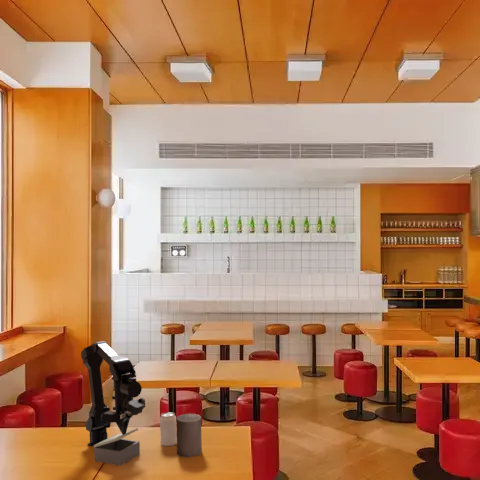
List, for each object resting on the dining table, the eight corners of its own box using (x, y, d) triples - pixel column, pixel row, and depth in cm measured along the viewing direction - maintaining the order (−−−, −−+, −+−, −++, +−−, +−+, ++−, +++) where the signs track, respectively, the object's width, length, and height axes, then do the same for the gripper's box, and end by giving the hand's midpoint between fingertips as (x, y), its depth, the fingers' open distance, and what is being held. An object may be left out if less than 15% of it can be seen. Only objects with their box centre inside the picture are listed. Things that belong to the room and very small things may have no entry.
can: (174, 447, 229) (173, 417, 229) (158, 446, 230) (157, 416, 230) (178, 441, 235) (178, 412, 235) (163, 440, 236) (163, 411, 236)
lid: (94, 447, 216) (93, 445, 216) (114, 437, 227) (114, 434, 227) (117, 440, 211) (117, 437, 211) (138, 430, 222) (137, 427, 222)
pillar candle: (171, 453, 222) (170, 414, 222) (190, 446, 229) (189, 408, 229) (188, 459, 215) (187, 420, 215) (207, 452, 222) (206, 413, 222)
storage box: (94, 461, 216) (94, 447, 216) (115, 450, 227) (114, 437, 227) (120, 465, 211) (119, 452, 211) (139, 454, 222) (139, 441, 222)
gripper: (123, 401, 206) (125, 444, 206) (153, 388, 222) (155, 428, 222) (99, 398, 211) (101, 441, 211) (130, 386, 227) (132, 425, 227)
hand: (124, 434), depth 218 cm, fingers closed, pressing on lid
